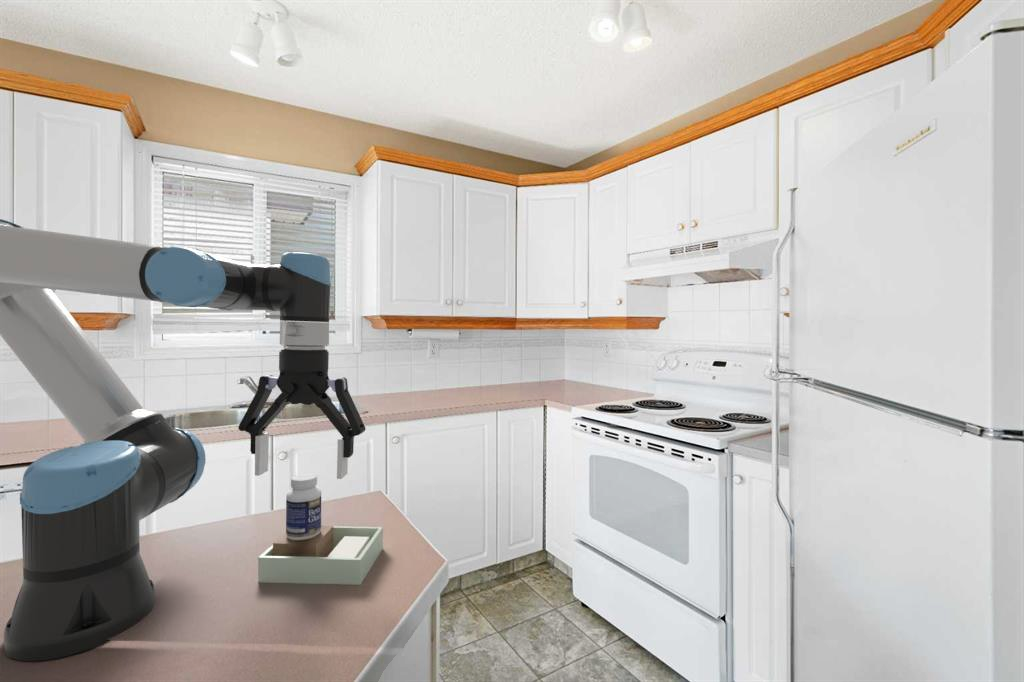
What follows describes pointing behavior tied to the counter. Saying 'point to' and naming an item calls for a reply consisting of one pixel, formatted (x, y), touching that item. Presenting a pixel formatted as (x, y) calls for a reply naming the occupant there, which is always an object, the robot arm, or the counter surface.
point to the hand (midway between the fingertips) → (301, 474)
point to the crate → (323, 562)
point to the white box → (350, 547)
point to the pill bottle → (303, 508)
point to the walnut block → (306, 545)
